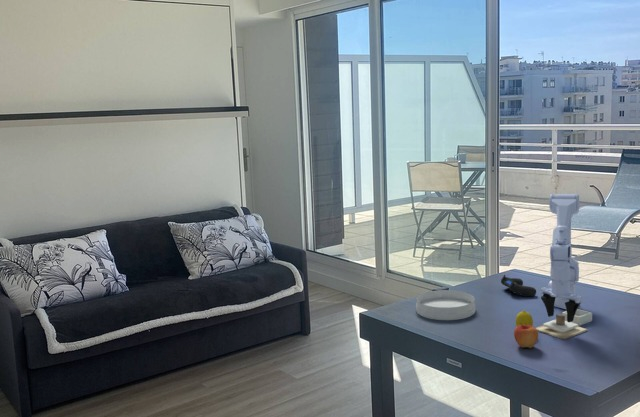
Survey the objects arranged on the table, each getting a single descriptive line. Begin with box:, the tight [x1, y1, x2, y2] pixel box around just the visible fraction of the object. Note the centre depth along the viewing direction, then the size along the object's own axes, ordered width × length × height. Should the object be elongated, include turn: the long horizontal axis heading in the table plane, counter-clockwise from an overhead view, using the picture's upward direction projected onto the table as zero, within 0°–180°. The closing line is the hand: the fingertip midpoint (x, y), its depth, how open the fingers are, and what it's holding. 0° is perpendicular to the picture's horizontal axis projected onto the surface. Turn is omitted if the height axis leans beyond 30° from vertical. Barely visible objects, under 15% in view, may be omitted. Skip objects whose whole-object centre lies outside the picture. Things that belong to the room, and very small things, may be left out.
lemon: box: [515, 310, 534, 328], centre depth 215 cm, size 6×6×8 cm
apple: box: [513, 323, 539, 349], centre depth 204 cm, size 7×7×8 cm
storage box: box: [561, 308, 593, 327], centre depth 224 cm, size 7×7×3 cm
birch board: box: [535, 324, 588, 341], centre depth 217 cm, size 12×12×1 cm
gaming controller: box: [500, 274, 537, 298], centre depth 261 cm, size 17×6×10 cm
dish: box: [415, 289, 476, 321], centre depth 243 cm, size 22×22×5 cm
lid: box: [542, 313, 579, 333], centre depth 216 cm, size 8×8×5 cm
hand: (560, 318), depth 216 cm, fingers open, 7 cm apart
